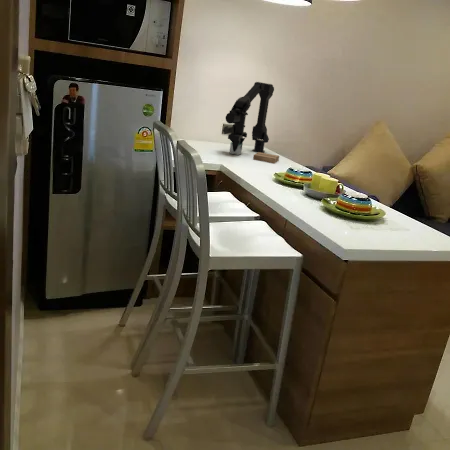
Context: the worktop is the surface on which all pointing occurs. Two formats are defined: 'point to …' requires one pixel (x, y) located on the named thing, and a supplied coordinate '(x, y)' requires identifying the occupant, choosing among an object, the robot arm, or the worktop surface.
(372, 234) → the worktop surface
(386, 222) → the worktop surface
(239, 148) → the block
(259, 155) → the walnut box
